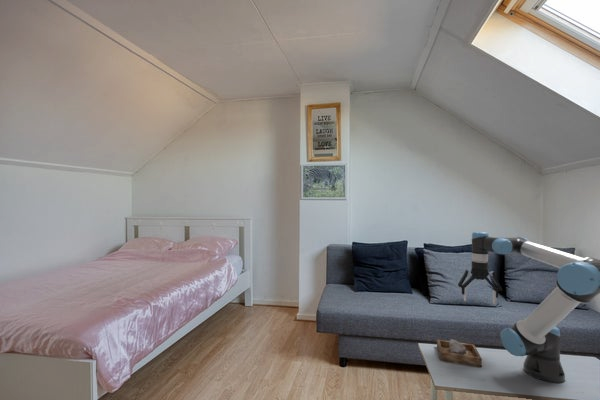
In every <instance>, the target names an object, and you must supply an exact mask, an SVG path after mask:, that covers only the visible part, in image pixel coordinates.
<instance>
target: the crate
mask: <svg viewBox="0 0 600 400" xmlns="http://www.w3.org/2000/svg"><path fill="white" fill-rule="evenodd" d="M449 342H450V340H442V339H436V348H437V349H436V350H437V352H438V353H437V354H438V356H439V359H440V361H441V362H447V363H452V364H453V363H454V364H459V365H460V364H461V365H466V366H467V365H468V366H473V367H479V368H482V367H483V366H482V362H483V360H482V359H483V358H482V355H480V353H479V351H478V349H477V347H476V344H472V343H466V342H460V343H461V344H462V345H463V346H464V347H465V348H466V354H465V355H461V354H454V353H451V352H450V348H449Z"/></svg>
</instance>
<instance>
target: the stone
mask: <svg viewBox="0 0 600 400" xmlns="http://www.w3.org/2000/svg"><path fill="white" fill-rule="evenodd" d="M449 341H450V342H449V348H450V352H451V353H454V354H461V355H465V354H466V348H465V347H464V346H463V345H462V344H461V343H462V342H459V341H457V340H456V339H453V338H451V339H450V340H449Z"/></svg>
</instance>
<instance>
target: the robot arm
mask: <svg viewBox="0 0 600 400" xmlns="http://www.w3.org/2000/svg"><path fill="white" fill-rule="evenodd" d="M489 253H494V254H498V255H508V254H510V253H511V254H512V253H513V254H518V255H522V256H524V257H527V258H530V259H533V260H535V261H537V262H542V263H543V264H546V265H550V266H553V267H555V268H557V269H558V271H557V273H556V274H557V275H556V276H557V279H556V280H555V286H556V287H555V288H554V289H553V290H552V291H551V293H549V294H548V295H547V296H546V298H545V299H544V300H542V301H541V302H540V303H539V305H538V306H537V307H536V308H534V309H533V311H531V313H530V314H529V315H527V317H526V318H525V319H519V320H517V321H516V322H515V323H514V324H513V325H512V326H511V327H505V328H503V329H502V331H501V332H500V340H501V343H502V344H501V345H503V347H504V349H505V350H506V351H507V352H508V353H509V354H510V355H513V356H515V357H525V359H524V362H523V371H524V372H525V373H526V374H528V375H530V376H531V377H534V378H536V379H539V380H541V381H544V382H548V383H564V382H565V380H566V375H565V372H564V368H563V365H562V363H561V331H560V328H558V327H557V325H558V324H560V322H561V321H563V320H564V319H565V317H567V316H569V314H570V313H571V312H572V311H573V310H574V309H575V308H577V307H578V306H579V305H580V304H589V303H590V302H591V301H592V300H593V299H594V298H596V297H597V295H600V259H598V258H595V257H591V256H589V257H583V256H579V255H577V254H576V255H575V254H572V253H569V252H566V251H564V250H559V249H557V248H554V247H549V246H547V245H542V244H539V243H536V242H532V241H530V240H529V239H528V238H526V237H522V236H521V237H520V236H518V237H517V236H515V237H493V236H489V232H488V231H487V232H486V231H473V232H472V234H471V270H469V269H464V273H463V275H462V276H461V278H460V280H459V282H458V283H457V286H458V287H459V288H461V295H463V301H464V302H467V286H469V285H470V284H471V283H472V282H473V281H474V280H475V279H476V280H481V281H484V280H485V281H486V282H487V283H488V284H489V285H490V286H491V288H492V289H493V290H492V304H493V305H497V303H496V301H497V298H499V292H500V291H501V292H502V291H503V287H502V286H501V284H500V281H499V280H498V279H497V276H496V272H495V271H493V270H492V271H489V263H488V262H489ZM470 274H471V275H470ZM468 275H470V277H469V278H468V279H467V277H468ZM489 275H490V276H491V278H492V279H493V281H494V283H495V284H494V283H493V282H492V281H491V280H490V279H489V278H488V276H489ZM466 279H467V280H466ZM495 285H496V286H495Z"/></svg>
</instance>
